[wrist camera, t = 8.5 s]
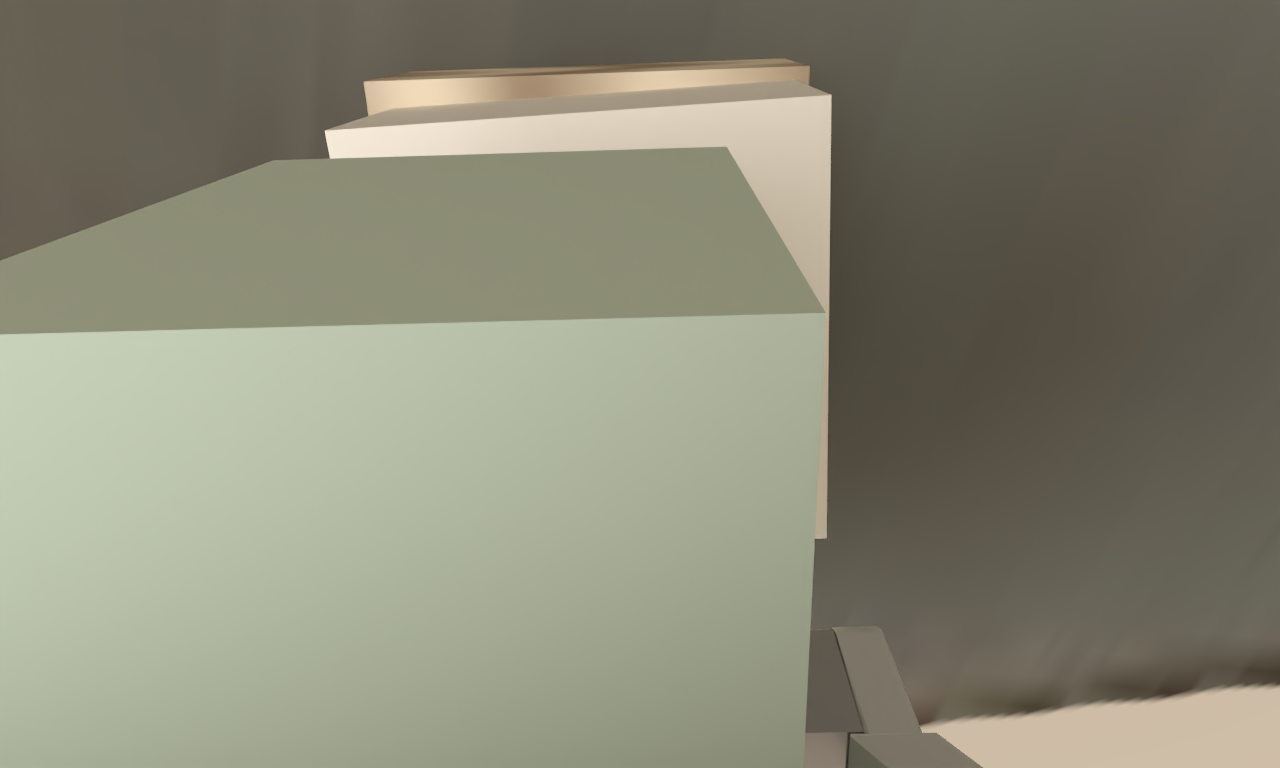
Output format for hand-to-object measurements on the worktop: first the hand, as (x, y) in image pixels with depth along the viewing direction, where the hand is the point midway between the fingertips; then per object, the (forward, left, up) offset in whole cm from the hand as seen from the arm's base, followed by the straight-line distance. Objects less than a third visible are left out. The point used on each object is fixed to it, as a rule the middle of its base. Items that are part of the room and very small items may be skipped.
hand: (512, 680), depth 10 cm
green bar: (0, 0, -2) cm, 2 cm away
